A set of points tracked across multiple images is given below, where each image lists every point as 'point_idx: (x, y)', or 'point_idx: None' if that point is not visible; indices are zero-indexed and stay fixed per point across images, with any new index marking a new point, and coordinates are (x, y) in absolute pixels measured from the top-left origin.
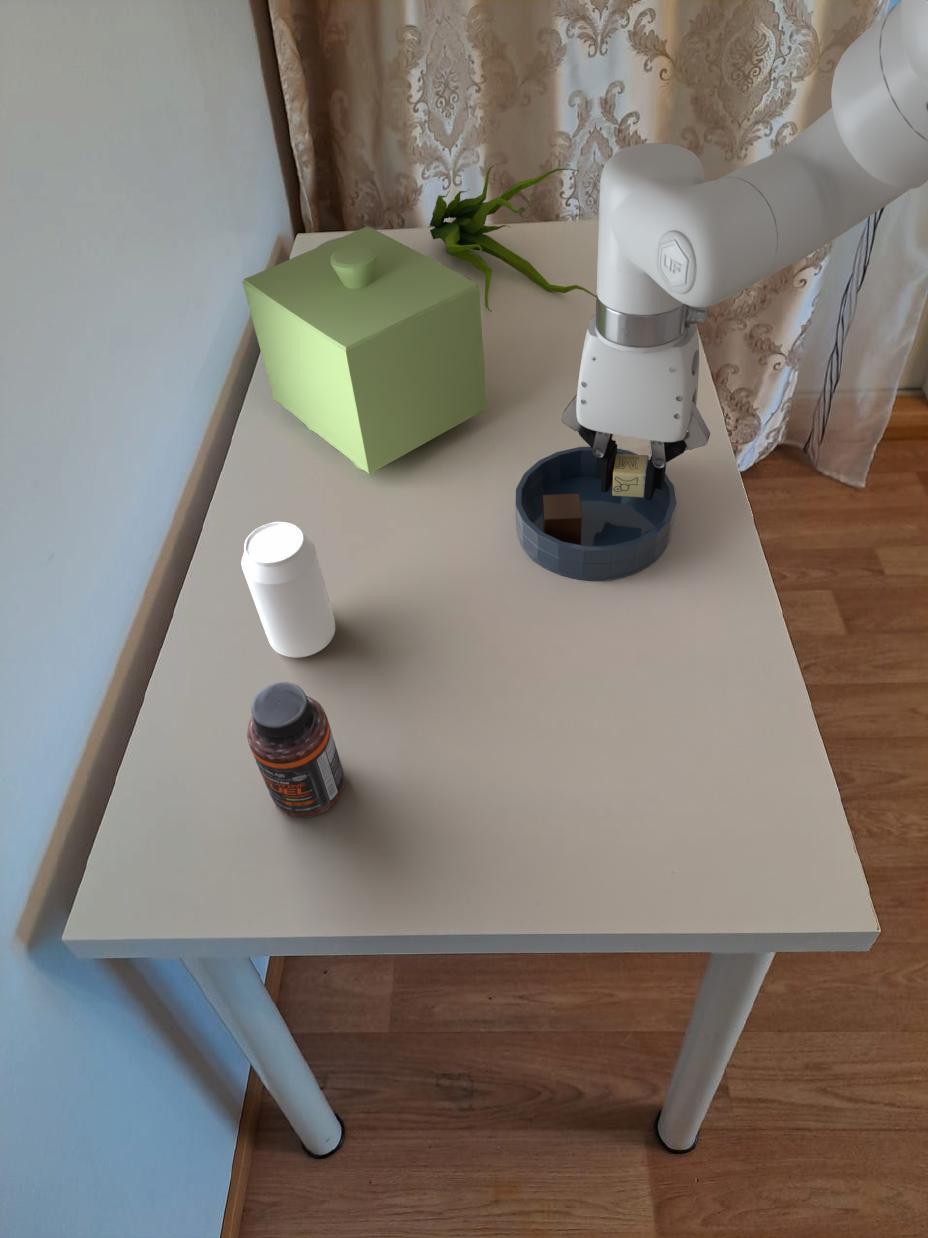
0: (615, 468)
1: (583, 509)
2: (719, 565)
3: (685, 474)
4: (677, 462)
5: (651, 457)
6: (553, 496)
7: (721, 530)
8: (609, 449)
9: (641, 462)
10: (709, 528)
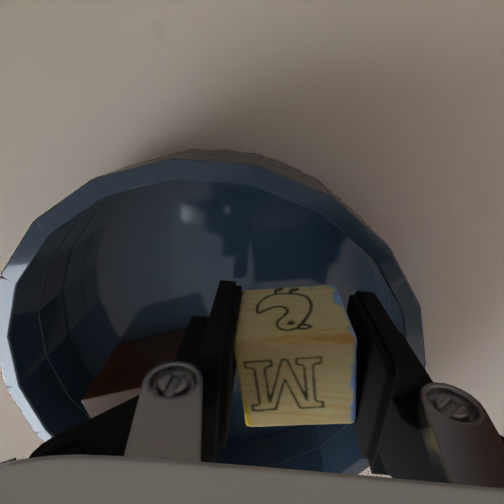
0: (249, 413)
1: (186, 294)
2: (480, 368)
3: (421, 82)
4: (398, 24)
5: (389, 473)
6: (107, 400)
7: (497, 277)
8: (212, 452)
9: (334, 379)
10: (470, 276)
